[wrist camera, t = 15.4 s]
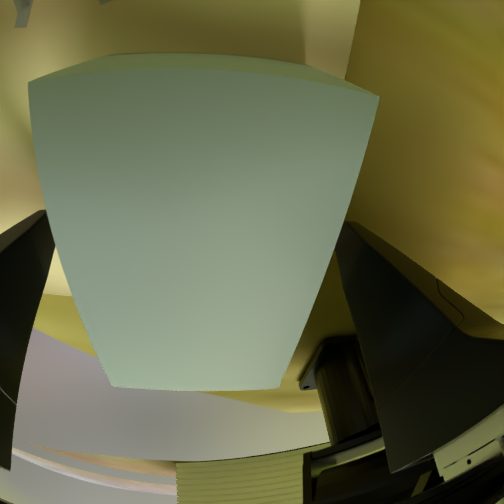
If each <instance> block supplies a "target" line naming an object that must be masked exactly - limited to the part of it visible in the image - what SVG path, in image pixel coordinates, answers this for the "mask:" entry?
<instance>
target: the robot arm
mask: <svg viewBox="0 0 504 504" xmlns="http://www.w3.org/2000/svg"><path fill="white" fill-rule="evenodd" d="M55 247H56V245H55V242H54V238H53V235H52V231H51V227H50V223H49V220H48V216H47V212H46V209H44V210H38V211H37V212H35V213H33V214H32V215H30V216H28V217H27V218H25V219H23V220H22V221H20V222H18V223H17V224H15V225H14V226H12V227H10V228H9V229H7V230H6V231H4V232H3V233H1V234H0V468H2V469H5V470H7V471H10V468H11V454H12V439H13V430H14V421H15V413H16V404H17V398H18V392H19V386H20V381H21V375H22V370H23V365H24V361H25V356H26V352H27V347H28V343H29V339H30V335H31V331H32V328H33V324H34V320H35V317H36V313H37V310H38V307H39V303H40V300H41V297H42V294H43V291H44V288H45V284H46V281H47V278H48V274H49V270H50V266H51V262H52V258H53V254H54V250H55ZM335 251H336V256H337V261H338V265H339V270H340V275H341V280H342V285H343V289H344V293H345V296H346V299H347V303H348V306H349V309H350V312H351V316H352V319H353V322H354V326H355V329H356V333H357V336H348V337H335V338H327V339H325V340H323V341H322V342H321V344H320V346H319V348H318V350H317V352H316V354H315V355H314V357H313V359H312V361H311V363H310V365H309V367H308V368H307V370H306V372H305V374H304V376H303V377H302V379H301V381H300V383H299V387H300V390H313V389H317V390H318V394H319V398H320V402H321V406H322V410H323V414H324V418H325V422H326V427H327V431H328V435H329V439H330V443H331V446H330V447H327V448H323V449H320V450H317V451H310V452H306V453H303V465H302V475H303V504H504V324H501V323H499V322H498V321H496V320H495V319H493V318H492V317H490V316H489V315H488V314H486V313H485V312H483V311H482V310H481V309H479V308H478V307H476V306H475V305H473V304H472V303H471V302H469V301H468V300H466V299H465V298H464V297H462V296H461V295H459V294H458V293H456V292H455V291H454V290H452V289H451V288H450V287H448V286H447V285H446V284H444V283H443V282H442V281H440V280H439V279H438V278H436V277H435V276H433V275H432V274H431V273H429V272H428V271H427V270H425V269H424V268H423V267H421V266H420V265H418V264H417V263H416V262H414V261H413V260H411V259H410V258H409V257H407V256H406V255H404V254H403V253H401V252H400V251H399V250H397V249H396V248H394V247H393V246H391V245H390V244H388V243H387V242H385V241H384V240H383V239H381V238H380V237H378V236H377V235H375V234H374V233H372V232H371V231H369V230H368V229H366V228H365V227H363V226H362V225H360V224H358V223H357V222H353V221H344V222H343V225H342V228H341V231H340V234H339V236H338V239H337V242H336V245H335ZM383 447H385V449H383V450H380V451H377V452H375V453H372V454H370V455H367V456H364V457H361V458H358V459H356V460H353V461H350V462H347V463H344V464H340V465H337V464H338V463H341V462H345V461H348V460H351V459H353V458H356V457H359V456H362V455H365V454H368V453H370V452H373V451H376V450H378V449H381V448H383ZM0 504H13V503H10V502H8V501H5V500H3V499H1V498H0Z"/></svg>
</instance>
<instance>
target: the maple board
mask: <svg viewBox="0 0 504 504" xmlns="http://www.w3.org/2000/svg"><path fill="white" fill-rule="evenodd" d="M359 6H360V0H0V234H1V233H3V232H4V231H6V230H7V229H9V228H10V227H12V226H14V225H15V224H17V223H18V222H20V221H22V220H23V219H25V218H27V217H28V216H30V215H32V214H33V213H35V212H37V211H38V210H44V209H46V207H45V203H44V199H43V194H42V189H41V185H40V180H39V174H38V169H37V163H36V157H35V151H34V144H33V137H32V129H31V120H30V110H29V97H28V82H29V81H32V80H34V79H37V78H39V77H42V76H44V75H47V74H50V73H52V72H55V71H58V70H61V69H64V68H67V67H70V66H73V65H76V64H79V63H82V62H86V61H89V60H92V59H96V58H99V57H103V56H107V55H112V54H126V53H144V52H200V53H219V54H233V55H244V56H253V57H262V58H269V59H277V60H283V61H290V62H296V63H301V64H306V65H309V66H311V67H314V68H317V69H319V70H322V71H324V72H327V73H329V74H331V75H334V76H336V77H339V78H341V79H343V80H344V79H345V75H346V70H347V66H348V61H349V56H350V52H351V47H352V42H353V37H354V32H355V27H356V22H357V16H358V11H359ZM43 293H44V294H55V295H67V296H72V294H71V291H70V288H69V286H68V283H67V280H66V277H65V274H64V271H63V268H62V265H61V262H60V258H59V255H58V252H57V249H56V247H55V250H54V254H53V258H52V262H51V266H50V270H49V274H48V278H47V281H46V284H45V288H44V291H43Z"/></svg>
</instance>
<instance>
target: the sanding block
mask: <svg viewBox="0 0 504 504" xmlns="http://www.w3.org/2000/svg"><path fill="white" fill-rule="evenodd" d="M28 97H29V110H30V120H31V129H32V137H33V144H34V151H35V157H36V163H37V169H38V174H39V180H40V185H41V189H42V194H43V199H44V203H45V207H46V212H47V216H48V220H49V223H50V227H51V231H52V235H53V238H54V242H55V245H56V249H57V252H58V255H59V258H60V262H61V265H62V268H63V271H64V274H65V277H66V280H67V283H68V286H69V288H70V291H71V294H72V297H73V299H74V302H75V305H76V307H77V310H78V312H79V315H80V317H81V320H82V322H83V325H84V327H85V329H86V332H87V334H88V336H89V339H90V341H91V343H92V346H93V348H94V350H95V352H96V354H97V356H98V359H99V361H100V363H101V365H102V367H103V369H104V371H105V373H106V375H107V377H108V379H109V381H110V383H111V385H112V386H116V387H126V388H139V389H140V388H141V389H156V390H180V391H236V390H261V389H277V388H279V385H280V383H281V381H282V379H283V376H284V374H285V372H286V370H287V367H288V365H289V363H290V360H291V358H292V356H293V353H294V351H295V349H296V346H297V344H298V342H299V339H300V337H301V334H302V332H303V329H304V327H305V325H306V322H307V320H308V317H309V315H310V312H311V310H312V307H313V304H314V302H315V299H316V297H317V294H318V292H319V289H320V286H321V284H322V281H323V278H324V276H325V273H326V270H327V267H328V265H329V262H330V259H331V256H332V254H333V251H334V248H335V245H336V242H337V239H338V236H339V234H340V231H341V228H342V225H343V222H344V219H345V216H346V213H347V210H348V207H349V204H350V200H351V197H352V194H353V191H354V188H355V185H356V181H357V178H358V175H359V172H360V168H361V165H362V162H363V158H364V155H365V151H366V148H367V144H368V141H369V137H370V133H371V130H372V126H373V122H374V119H375V115H376V111H377V107H378V103H379V99H380V97H379V96H377V95H375V94H373V93H371V92H369V91H367V90H365V89H363V88H361V87H359V86H357V85H354V84H352V83H350V82H348V81H345V80H343V79H341V78H339V77H336V76H334V75H331V74H329V73H327V72H324V71H322V70H319V69H317V68H314V67H311V66H309V65H306V64H301V63H296V62H290V61H283V60H277V59H269V58H262V57H253V56H244V55H233V54H219V53H200V52H144V53H126V54H112V55H107V56H103V57H99V58H96V59H92V60H89V61H86V62H82V63H79V64H76V65H73V66H70V67H67V68H64V69H61V70H58V71H55V72H52V73H50V74H47V75H44V76H42V77H39V78H37V79H34V80H32V81H29V82H28Z"/></svg>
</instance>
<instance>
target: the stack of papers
mask: <svg viewBox="0 0 504 504" xmlns="http://www.w3.org/2000/svg"><path fill="white" fill-rule="evenodd" d="M330 446H331V443H330V442H326V443H321V444H316V445H312V446H307V447H302V448H297V449H292V450H287V451H282V452H276V453H269V454H263V455H256V456H249V457H251V458H247V457H242V458H243V459H238V458H233V459H234V460H228V459H223V460H224V461H214V460H211V461H212V462H196V463H176V467H177V469H176V473H177V474H176V479H178V480H176V484H177V485H178V486H177V490H178V491H177V496H178V497H177V501H178V502H179V503H177V504H303V475H302V465H303V453H306V452H310V451H317V450H320V449H323V448H327V447H330ZM383 449H385V447H383V448H381V449H378V450H376V451H373V452H370V453H368V454H365V455H362V456H359V457H356V458H353V459H351V460H348V461H345V462H341V463H338V464H337V465H340V464H344V463H347V462H350V461H353V460H356V459H358V458H361V457H364V456H367V455H370V454H372V453H375V452H377V451H380V450H383Z"/></svg>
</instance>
